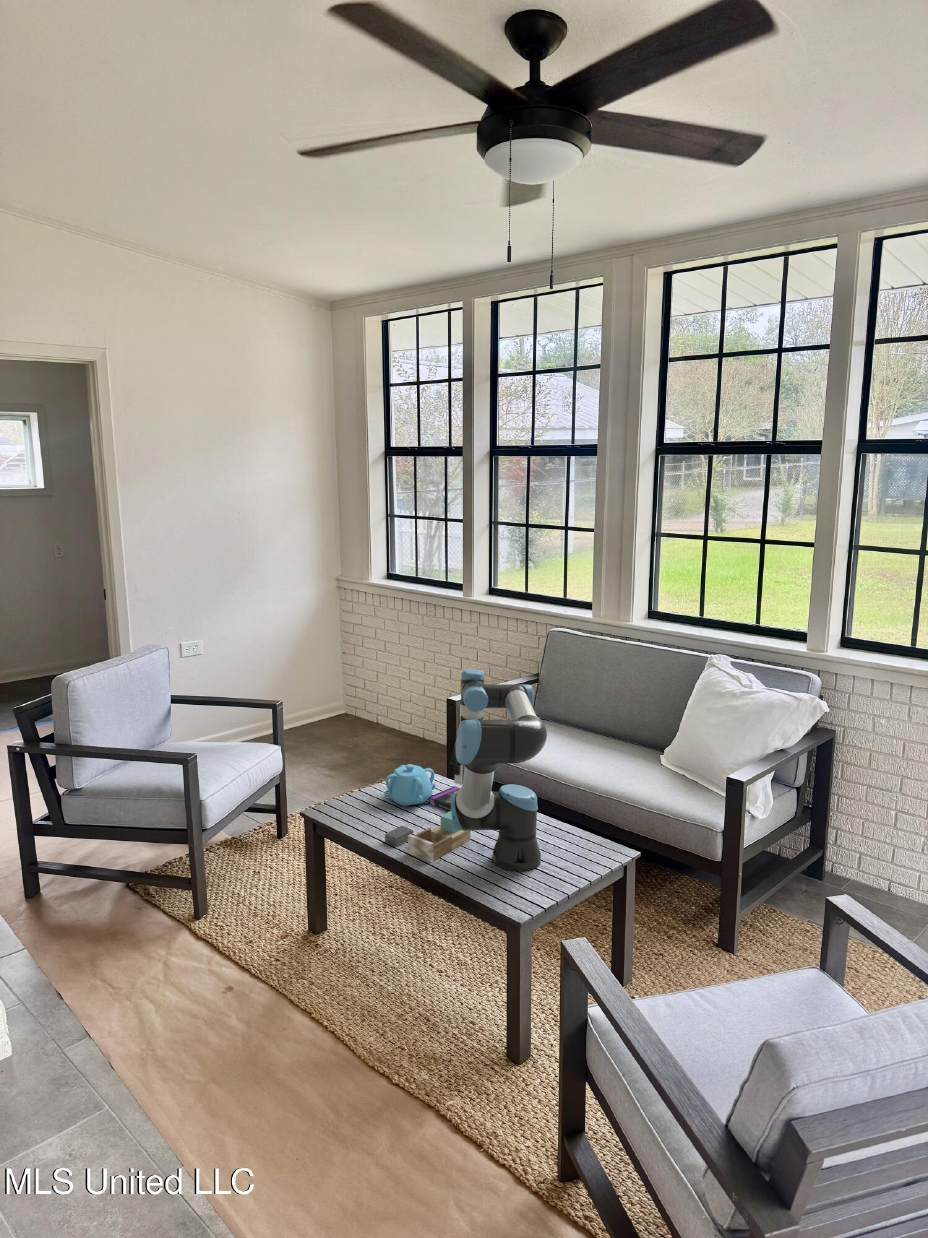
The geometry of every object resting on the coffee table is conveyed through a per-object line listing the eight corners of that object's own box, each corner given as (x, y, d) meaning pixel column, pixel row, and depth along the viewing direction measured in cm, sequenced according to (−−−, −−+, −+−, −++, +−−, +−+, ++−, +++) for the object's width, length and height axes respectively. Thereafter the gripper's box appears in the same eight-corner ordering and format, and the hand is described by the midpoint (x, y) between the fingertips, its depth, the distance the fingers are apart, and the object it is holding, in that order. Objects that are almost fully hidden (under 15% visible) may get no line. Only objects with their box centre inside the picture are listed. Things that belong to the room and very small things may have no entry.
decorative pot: (401, 789, 307) (401, 754, 305) (439, 796, 301) (439, 761, 298) (379, 804, 293) (379, 768, 290) (418, 812, 286) (418, 776, 284)
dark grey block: (412, 838, 266) (413, 830, 265) (396, 847, 260) (396, 838, 259) (401, 834, 269) (401, 825, 268) (385, 842, 263) (385, 833, 262)
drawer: (471, 840, 266) (471, 823, 264) (430, 862, 250) (431, 844, 249) (448, 831, 271) (448, 815, 270) (407, 853, 256) (408, 835, 255)
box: (427, 805, 295) (466, 821, 281) (427, 796, 294) (466, 811, 281) (454, 794, 305) (493, 809, 291) (454, 785, 304) (493, 799, 291)
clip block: (464, 828, 265) (464, 815, 264) (453, 833, 261) (453, 820, 260) (451, 823, 269) (451, 810, 268) (440, 828, 264) (440, 816, 264)
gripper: (484, 705, 277) (483, 764, 281) (439, 723, 258) (438, 785, 262) (502, 709, 273) (500, 769, 277) (457, 727, 254) (456, 791, 258)
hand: (470, 777), depth 270 cm, fingers open, 13 cm apart
